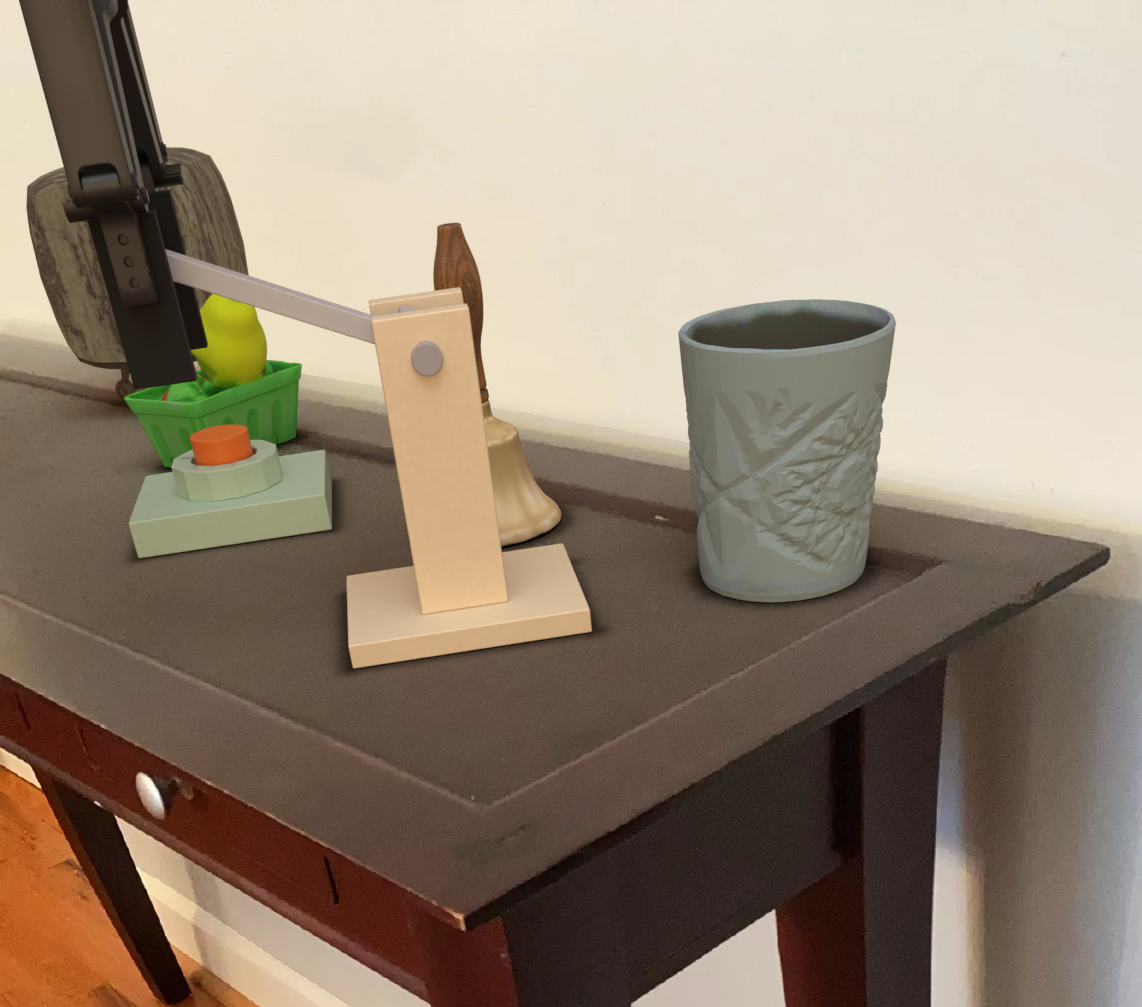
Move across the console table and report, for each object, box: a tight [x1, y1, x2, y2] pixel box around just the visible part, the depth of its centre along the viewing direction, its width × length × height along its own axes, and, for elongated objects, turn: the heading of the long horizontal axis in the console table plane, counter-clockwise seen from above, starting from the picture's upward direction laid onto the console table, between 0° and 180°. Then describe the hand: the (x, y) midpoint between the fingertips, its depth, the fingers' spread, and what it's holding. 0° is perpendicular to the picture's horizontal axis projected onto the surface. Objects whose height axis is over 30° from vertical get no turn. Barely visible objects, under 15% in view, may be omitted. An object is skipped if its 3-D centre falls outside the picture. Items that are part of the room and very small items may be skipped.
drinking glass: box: [677, 298, 897, 603], centre depth 69 cm, size 10×10×12 cm
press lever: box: [165, 249, 416, 345], centre depth 63 cm, size 15×6×2 cm, turn 98°
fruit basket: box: [123, 294, 303, 469], centre depth 99 cm, size 11×9×11 cm
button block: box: [127, 440, 333, 559], centre depth 88 cm, size 12×10×4 cm
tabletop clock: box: [25, 146, 250, 400], centre depth 108 cm, size 14×9×25 cm, turn 84°
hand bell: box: [432, 222, 562, 547], centre depth 78 cm, size 8×8×16 cm
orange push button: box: [190, 424, 254, 466], centre depth 87 cm, size 4×4×2 cm
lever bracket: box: [345, 287, 593, 669], centre depth 68 cm, size 12×10×15 cm
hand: (172, 365), depth 64 cm, fingers open, 6 cm apart
